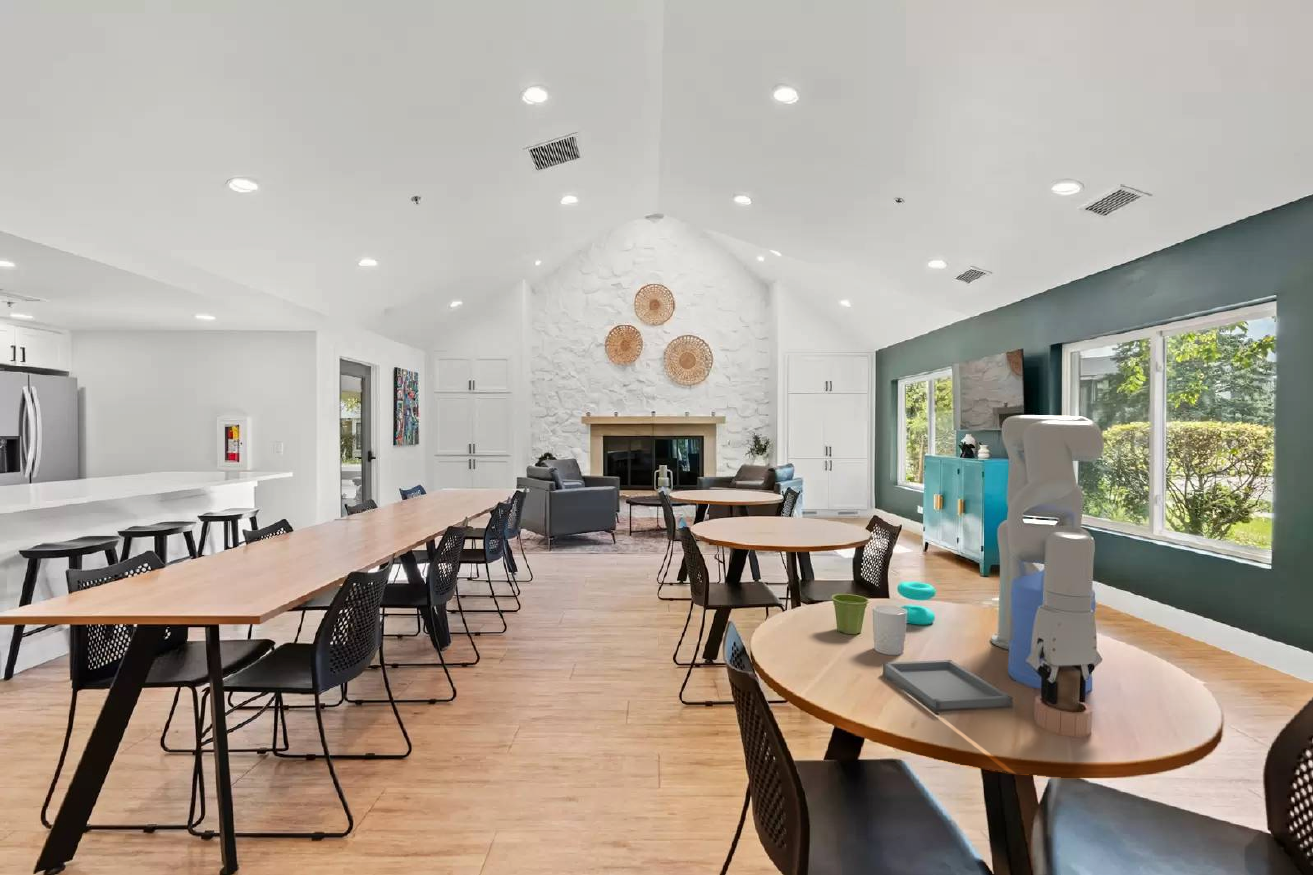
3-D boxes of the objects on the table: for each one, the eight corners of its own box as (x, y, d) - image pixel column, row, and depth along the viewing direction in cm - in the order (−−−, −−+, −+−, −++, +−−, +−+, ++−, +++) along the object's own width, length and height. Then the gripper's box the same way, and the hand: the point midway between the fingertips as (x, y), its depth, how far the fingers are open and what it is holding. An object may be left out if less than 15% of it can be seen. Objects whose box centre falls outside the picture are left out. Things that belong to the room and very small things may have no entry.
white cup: (901, 646, 164) (902, 605, 164) (910, 657, 157) (911, 615, 156) (868, 644, 165) (869, 604, 165) (875, 655, 157) (876, 613, 157)
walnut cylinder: (1063, 715, 124) (1065, 662, 124) (1084, 728, 120) (1087, 673, 119) (1039, 717, 124) (1041, 664, 123) (1060, 730, 119) (1062, 674, 118)
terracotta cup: (1064, 716, 126) (1065, 693, 126) (1102, 738, 118) (1103, 713, 118) (1024, 719, 125) (1024, 695, 125) (1058, 741, 116) (1059, 715, 116)
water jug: (1111, 695, 137) (1116, 559, 136) (1042, 698, 134) (1048, 560, 134) (1053, 666, 152) (1058, 544, 151) (991, 669, 150) (996, 545, 149)
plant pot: (828, 624, 180) (829, 592, 180) (864, 626, 179) (865, 594, 179) (832, 635, 171) (833, 602, 171) (870, 638, 170) (871, 604, 170)
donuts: (902, 578, 192) (939, 584, 187) (900, 613, 193) (937, 619, 187) (893, 585, 184) (931, 591, 179) (892, 621, 184) (930, 628, 179)
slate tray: (949, 671, 148) (950, 659, 148) (1011, 710, 129) (1012, 697, 128) (882, 674, 146) (883, 662, 146) (935, 714, 126) (936, 701, 126)
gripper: (1091, 594, 126) (1087, 689, 127) (1010, 597, 123) (1006, 694, 124) (1125, 606, 118) (1121, 706, 119) (1040, 608, 116) (1035, 712, 116)
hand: (1062, 699), depth 121 cm, fingers closed on walnut cylinder, 5 cm apart
